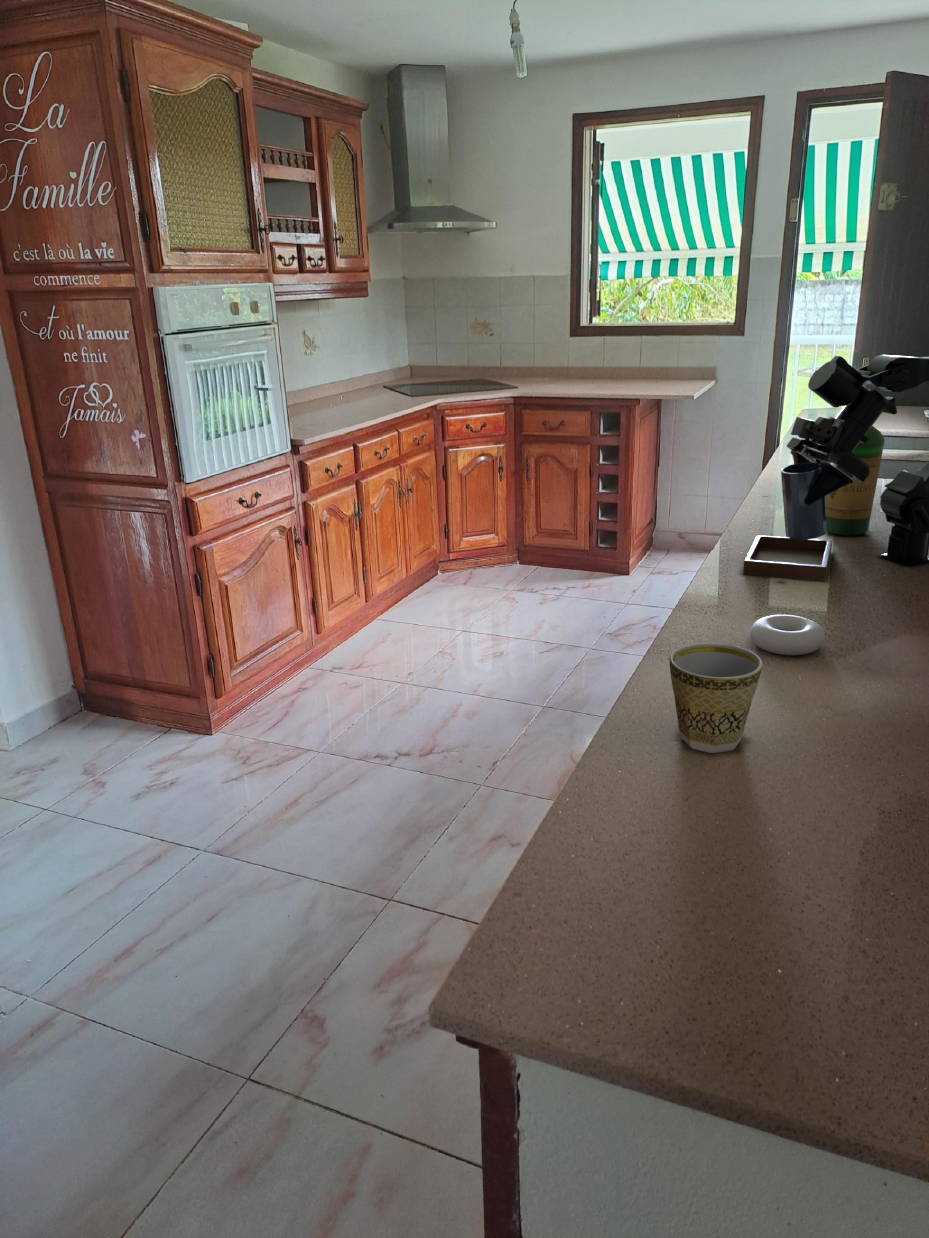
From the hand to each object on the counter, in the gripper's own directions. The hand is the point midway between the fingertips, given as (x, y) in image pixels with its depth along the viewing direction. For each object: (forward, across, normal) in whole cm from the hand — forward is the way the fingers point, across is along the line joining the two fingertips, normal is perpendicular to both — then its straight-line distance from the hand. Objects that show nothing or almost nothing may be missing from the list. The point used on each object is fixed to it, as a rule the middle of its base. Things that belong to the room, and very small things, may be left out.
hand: (796, 499), depth 154 cm
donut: (+20, +33, -6) cm, 39 cm away
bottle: (-2, -20, +25) cm, 33 cm away
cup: (+4, 0, +6) cm, 7 cm away
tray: (+10, -3, +9) cm, 13 cm away
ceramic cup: (+32, +56, -22) cm, 68 cm away
